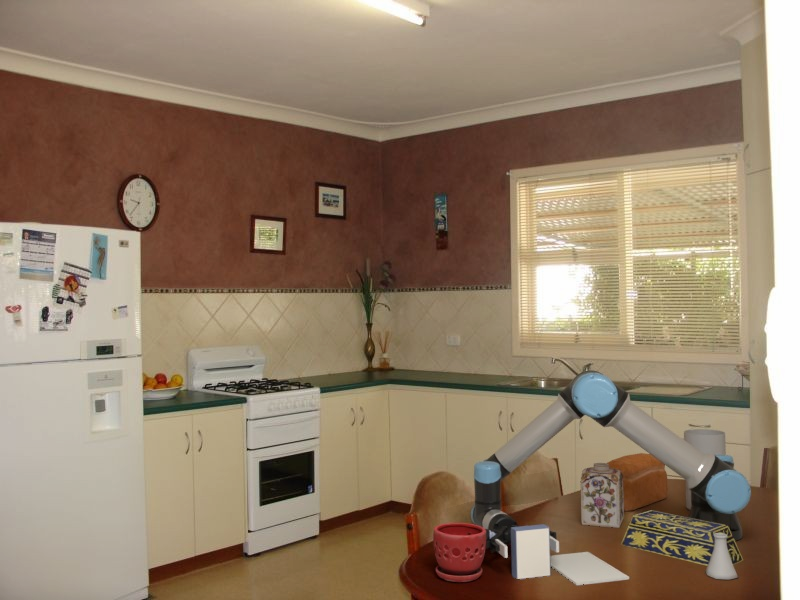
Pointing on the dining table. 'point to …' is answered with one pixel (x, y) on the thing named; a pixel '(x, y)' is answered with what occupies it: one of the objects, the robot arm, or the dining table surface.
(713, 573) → the flask
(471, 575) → the plant pot
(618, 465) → the bread
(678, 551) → the decorative box
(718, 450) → the cylinder vase
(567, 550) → the dining table surface
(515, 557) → the book
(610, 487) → the decorative jar
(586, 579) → the mat
